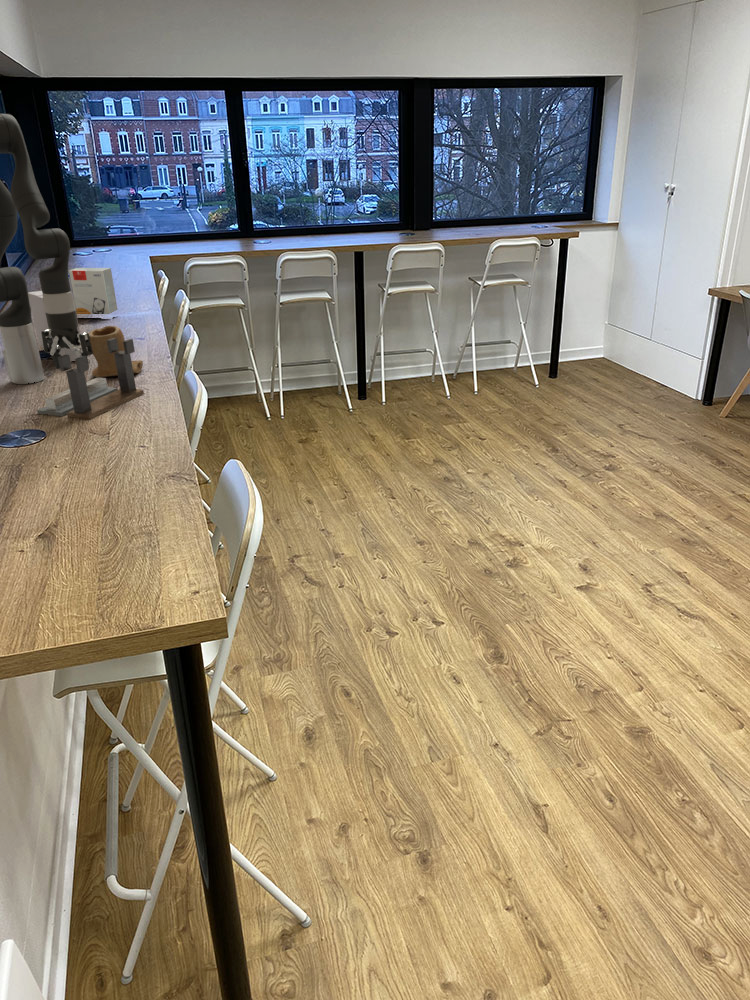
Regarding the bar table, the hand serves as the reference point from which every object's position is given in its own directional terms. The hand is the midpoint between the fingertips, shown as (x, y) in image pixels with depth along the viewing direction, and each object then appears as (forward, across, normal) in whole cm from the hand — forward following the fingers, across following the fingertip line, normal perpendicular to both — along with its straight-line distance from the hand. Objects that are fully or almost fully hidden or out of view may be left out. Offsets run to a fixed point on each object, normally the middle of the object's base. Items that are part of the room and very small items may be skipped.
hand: (72, 369), depth 204 cm
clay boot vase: (+10, +7, -26) cm, 28 cm away
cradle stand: (+9, -10, 0) cm, 13 cm away
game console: (+10, +44, -43) cm, 62 cm away
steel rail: (+8, 0, 0) cm, 8 cm away
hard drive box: (+11, +74, -100) cm, 125 cm away
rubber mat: (+9, 0, 0) cm, 9 cm away
